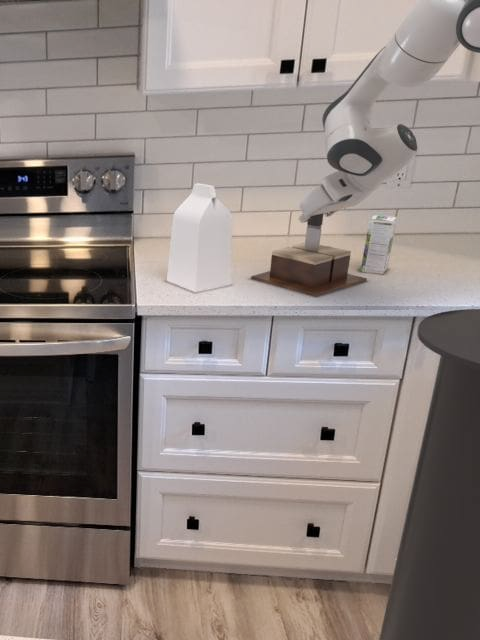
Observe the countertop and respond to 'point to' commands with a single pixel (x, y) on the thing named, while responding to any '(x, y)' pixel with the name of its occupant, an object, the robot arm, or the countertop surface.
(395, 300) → the countertop surface
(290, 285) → the brown square slotted block
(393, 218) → the syrup box
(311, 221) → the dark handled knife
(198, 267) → the milk
